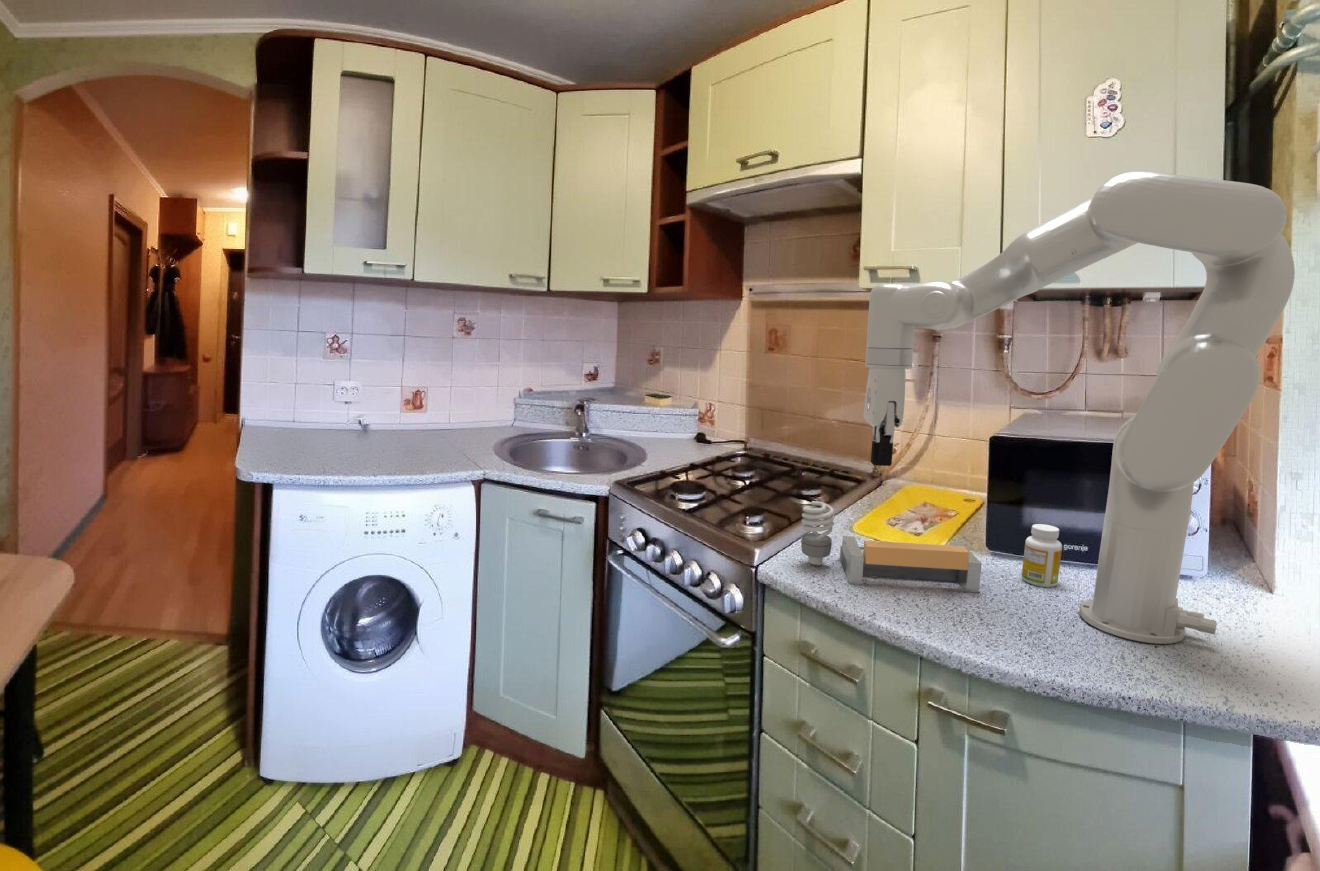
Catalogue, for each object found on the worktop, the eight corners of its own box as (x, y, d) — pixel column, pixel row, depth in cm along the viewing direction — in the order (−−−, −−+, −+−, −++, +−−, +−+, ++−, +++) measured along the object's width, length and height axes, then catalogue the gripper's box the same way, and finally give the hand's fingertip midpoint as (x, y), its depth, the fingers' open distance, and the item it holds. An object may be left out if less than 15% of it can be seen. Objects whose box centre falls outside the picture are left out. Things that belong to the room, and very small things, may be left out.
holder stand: (955, 565, 117) (958, 539, 116) (978, 592, 105) (981, 563, 105) (839, 558, 120) (841, 532, 119) (849, 583, 108) (851, 555, 107)
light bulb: (795, 560, 119) (798, 497, 117) (824, 559, 119) (828, 497, 117) (805, 572, 113) (808, 506, 111) (835, 571, 114) (840, 505, 112)
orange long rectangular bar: (961, 563, 107) (963, 546, 107) (967, 570, 104) (969, 552, 104) (862, 557, 109) (864, 540, 109) (865, 563, 107) (867, 546, 106)
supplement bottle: (1047, 576, 113) (1054, 523, 111) (1063, 588, 107) (1070, 533, 106) (1015, 574, 113) (1021, 521, 112) (1029, 587, 108) (1036, 531, 106)
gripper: (858, 356, 117) (852, 455, 120) (874, 361, 102) (866, 473, 105) (901, 357, 116) (893, 456, 119) (923, 362, 101) (913, 475, 104)
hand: (880, 464), depth 112 cm, fingers closed
